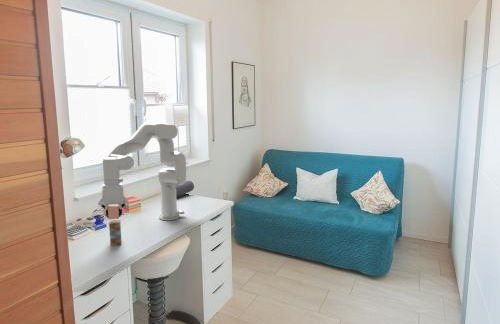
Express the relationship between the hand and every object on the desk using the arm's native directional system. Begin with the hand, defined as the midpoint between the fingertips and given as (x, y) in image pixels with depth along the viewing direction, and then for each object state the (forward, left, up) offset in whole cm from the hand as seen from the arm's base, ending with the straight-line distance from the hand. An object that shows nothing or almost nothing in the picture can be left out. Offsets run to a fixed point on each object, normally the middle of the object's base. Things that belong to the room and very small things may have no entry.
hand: (114, 216), depth 186 cm
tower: (0, 0, -15) cm, 15 cm away
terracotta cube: (0, 0, -1) cm, 1 cm away
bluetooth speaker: (-40, -85, -15) cm, 95 cm away
